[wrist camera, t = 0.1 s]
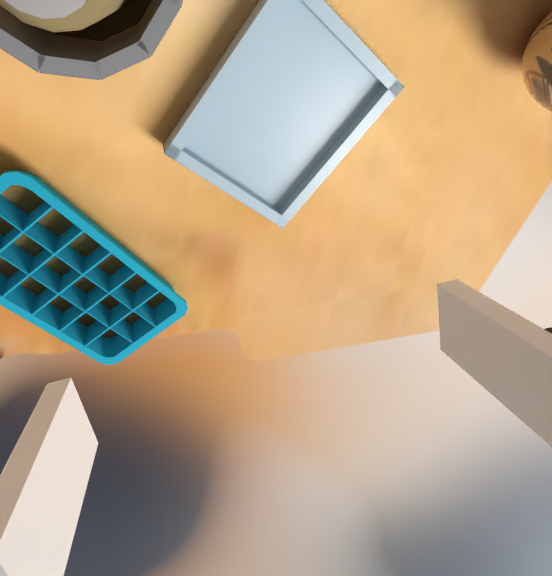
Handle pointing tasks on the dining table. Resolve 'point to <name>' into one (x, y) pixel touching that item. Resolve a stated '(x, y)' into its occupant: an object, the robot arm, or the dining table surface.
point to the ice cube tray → (66, 323)
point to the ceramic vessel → (539, 63)
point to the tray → (282, 107)
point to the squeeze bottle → (61, 12)
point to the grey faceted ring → (86, 44)
